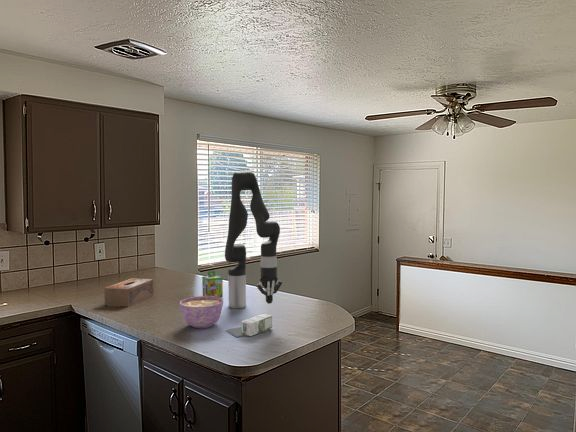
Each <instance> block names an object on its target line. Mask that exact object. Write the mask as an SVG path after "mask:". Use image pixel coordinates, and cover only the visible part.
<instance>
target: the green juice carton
mask: <svg viewBox="0 0 576 432" xmlns="http://www.w3.org/2000/svg"><path fill="white" fill-rule="evenodd" d="M223 279H224V278H223V277H222V276H219V275H217V274H216V271H215V270H209V271H207V275H205V276H202V277H201V280H202V285H201V286H202V288H201V289H202V296H214V297H219V298H222V297H223V294H224V291H223Z"/></svg>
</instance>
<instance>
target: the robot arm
mask: <svg viewBox="0 0 576 432" xmlns="http://www.w3.org/2000/svg"><path fill="white" fill-rule="evenodd" d="M231 177H232V178H231V199H230V201H231V202H230V209H229V219H228V231H227V239H226V245H225V250H224V259H225V261H226V262H227V263H237V264H235V266H233V267H231V268H229V269H228V271H227V275H228V276H227V277H228V278H227V280H228V307H229V308H231V309H243V308H245V307H246V306H247V284H246V283H247V281H246V280H247V278H246V275H247V274H246V272H247V271H246V268H247V265H246V264H247V249H246V246H245V244H242V243H240V244H235V243H236V242H237V241H236V240H237V239H238V238H239V236H241V234H242V233H243V232H244V230H245V229H246V227H247V225H248V218H249V212H248V210H247V208H246V206H245V205H244V203H243V201H242V200H241V199H242V198H241V192H245V191H250V192H251V193H252V196H251V201H250V203H249V206H250V212H251V214H252V217H253V219H254V221H255V227H256V228H255V229H256V233H257V236H259V238H262V239H263V238H268V239H267V241H265V242H262V243H261V244H260V262H259V263H260V279H259V282H258V283H256V284H255V287H256V288H257V289H258V290H259V292H260V293H261V294H262V295H264V296H265V303H266V304H269V305H270V304H272V303H273V301H274V299H273V298H274V297H273V295H275V294H276V293H278V291H279V289H281V286H282V284H283V282H282V281H280V280H279V279H278V259H277V245H278V241H279V237H280V233H281V227H280V225H279V223H278V222H277V221H275V220H274V221H268V220H269V219H270V213H269V211H268V208H267V206H266V205H265V202H264V200H263V197H262V194H261V190H260V187H259V184H258V180H257V178H256V175H255V174H254V172H253V171H251V170H250V171H237V172H234V173H233V174H232V176H231Z"/></svg>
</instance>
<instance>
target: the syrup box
mask: <svg viewBox="0 0 576 432" xmlns="http://www.w3.org/2000/svg"><path fill="white" fill-rule="evenodd" d="M241 327H242V334H244V335H247V336H249V337H252V336H255V335H257V334H261V333H260V332H262V333H264V332H263V331H265V330H270V329H272V328H273V315H269V314H267V313H261V314H259V315H256V316H253V317H250V318H247V319H243V320H242V321H241Z"/></svg>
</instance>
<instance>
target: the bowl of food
mask: <svg viewBox="0 0 576 432" xmlns="http://www.w3.org/2000/svg"><path fill="white" fill-rule="evenodd" d="M223 305H224V299H223V298H222V297H214V296H203V295H202V296H200V295H199V296H191V297H187V298H184V299H181V300H180V301H179V307H180V309H181V314H182V317H183V320H184V322H185V323H186V324H187V325H189V326H190V327H193V328H194V329H198V330H199V329H207V328H210V327H211V326H213V325H215V324H216V323H218V321H219V320H220V318H221V315H222V309H223Z"/></svg>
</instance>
